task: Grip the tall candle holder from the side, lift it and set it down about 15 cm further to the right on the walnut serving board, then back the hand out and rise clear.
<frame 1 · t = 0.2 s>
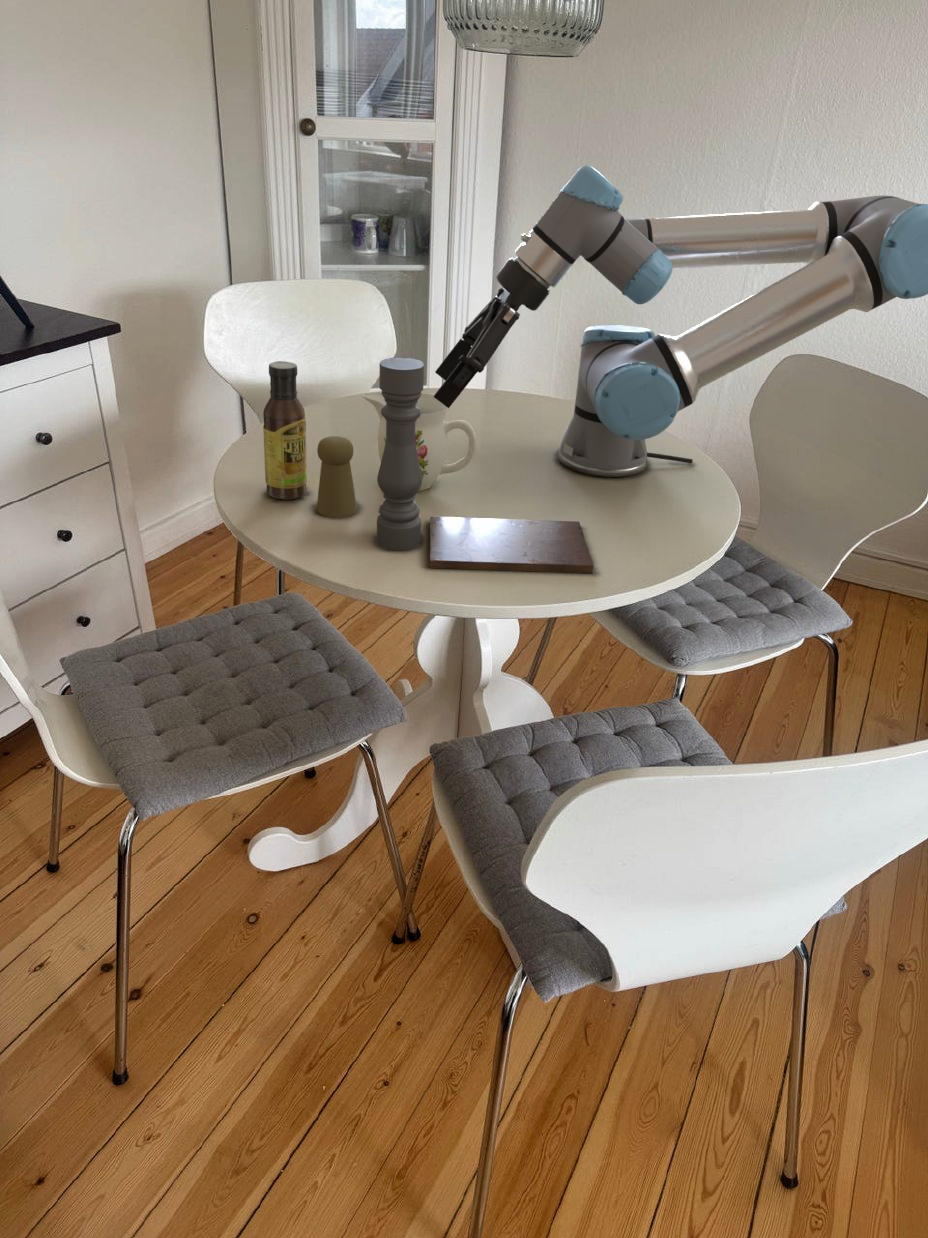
hand: (441, 389, 138), 16 cm above the table, tool tilted 35°, fingers open, 13 cm apart
walnut board: (507, 547, 129), on the table
candle holder: (398, 542, 129), on the table
olive pepper mill: (336, 510, 137), on the table
pitcher: (417, 484, 147), on the table
sauce bottle: (287, 494, 141), on the table
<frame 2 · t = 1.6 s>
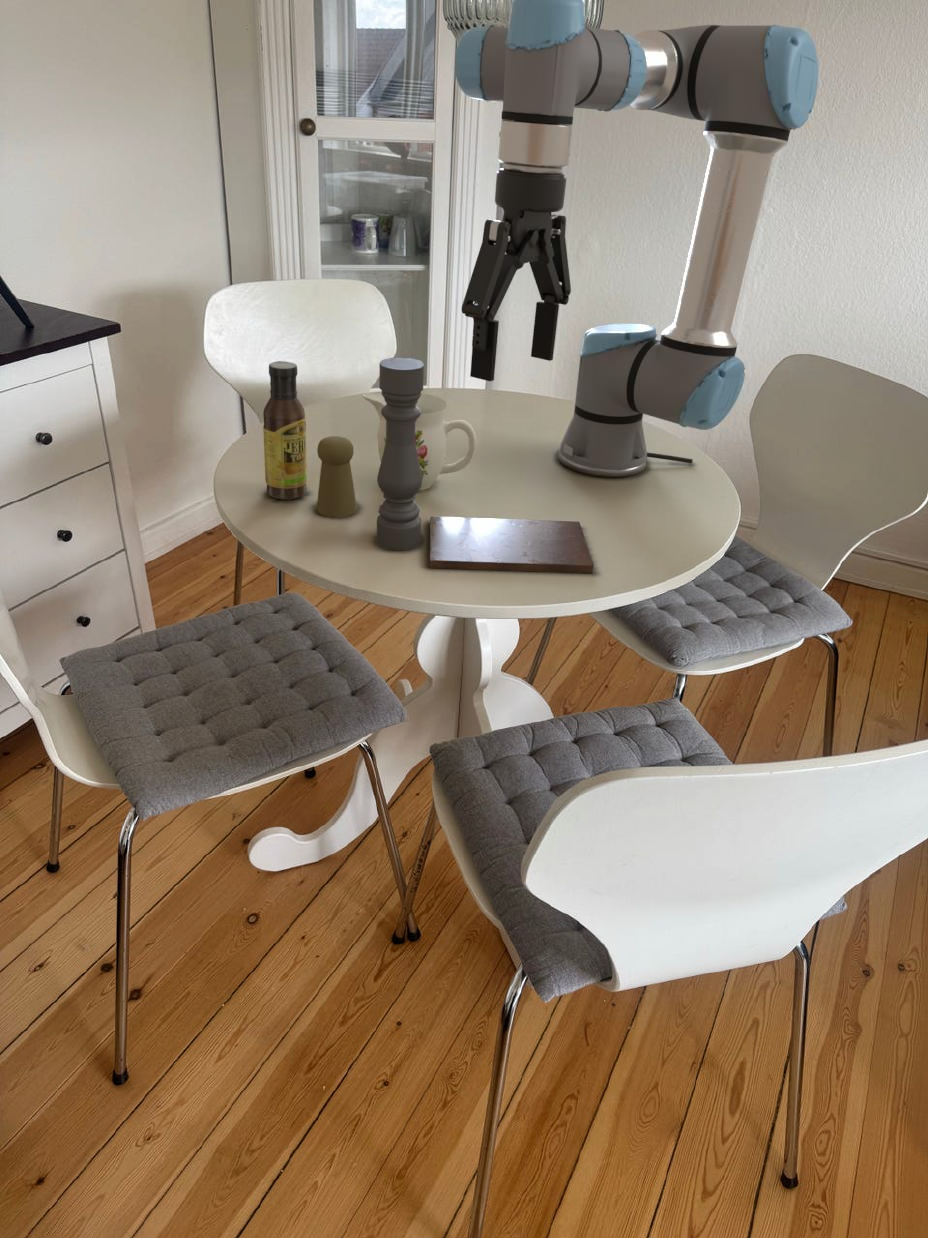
hand: (513, 368, 108), 27 cm above the table, tool pointing down, fingers open, 13 cm apart
nothing on the table moved.
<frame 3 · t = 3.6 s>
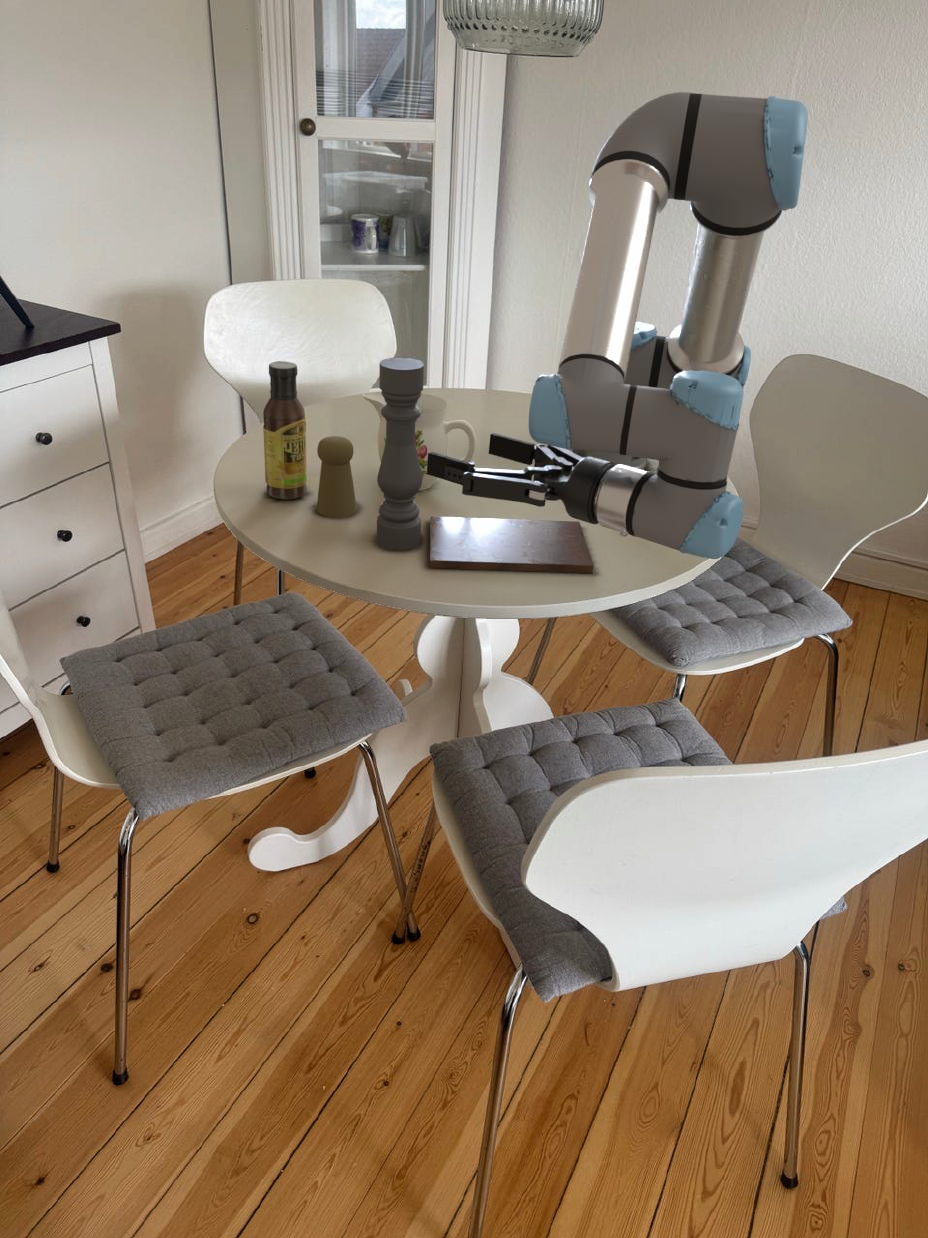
hand: (461, 452, 117), 15 cm above the table, tool horizontal, fingers open, 13 cm apart
nothing on the table moved.
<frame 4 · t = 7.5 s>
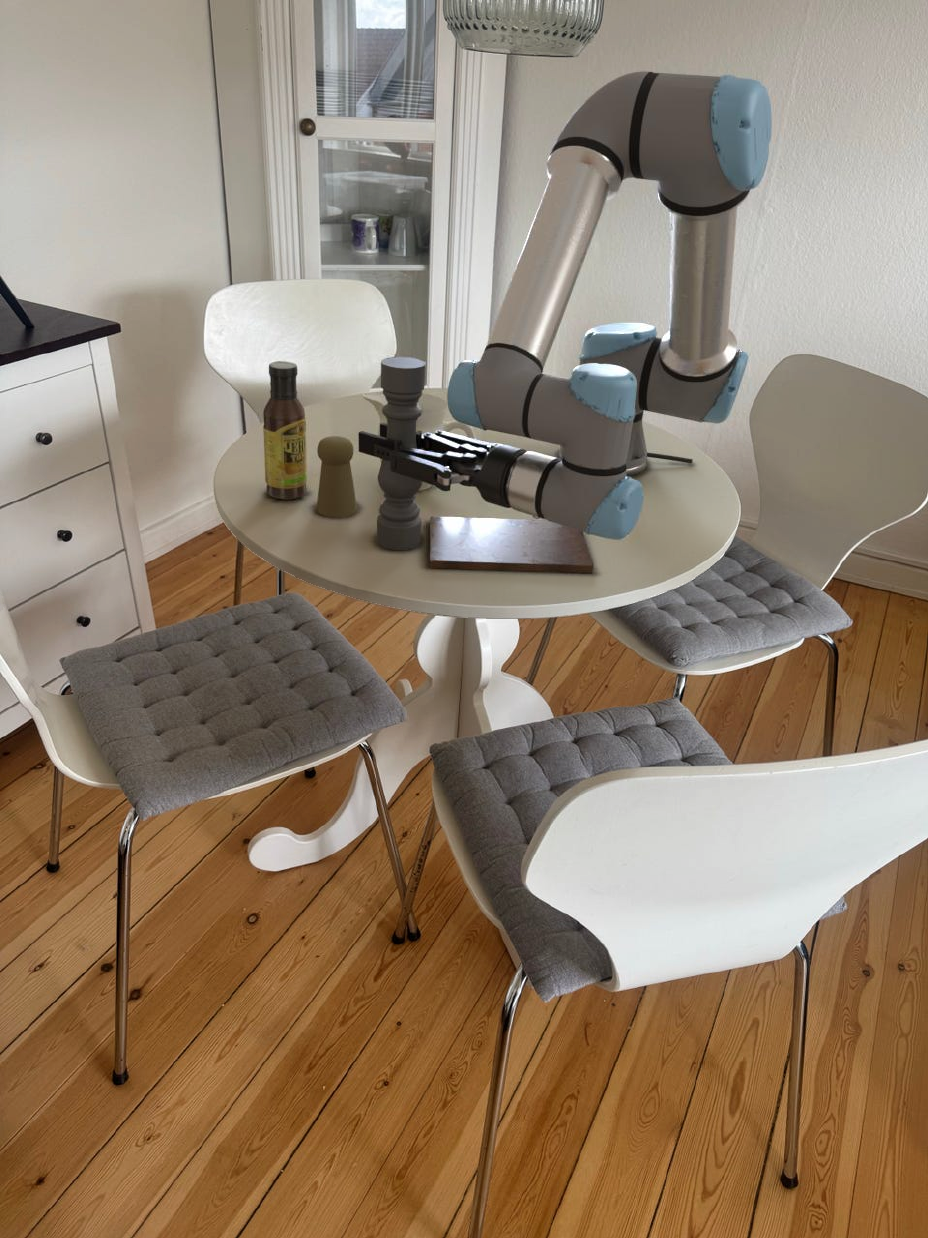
hand: (371, 436, 124), 14 cm above the table, tool horizontal, fingers closed on candle holder, 4 cm apart
candle holder: (398, 541, 129), on the table, touching gripper
everything else where it was.
when the fingers open (15 cm above the table, at t = 15.2 s): candle holder stays where it is, resting on walnut board.
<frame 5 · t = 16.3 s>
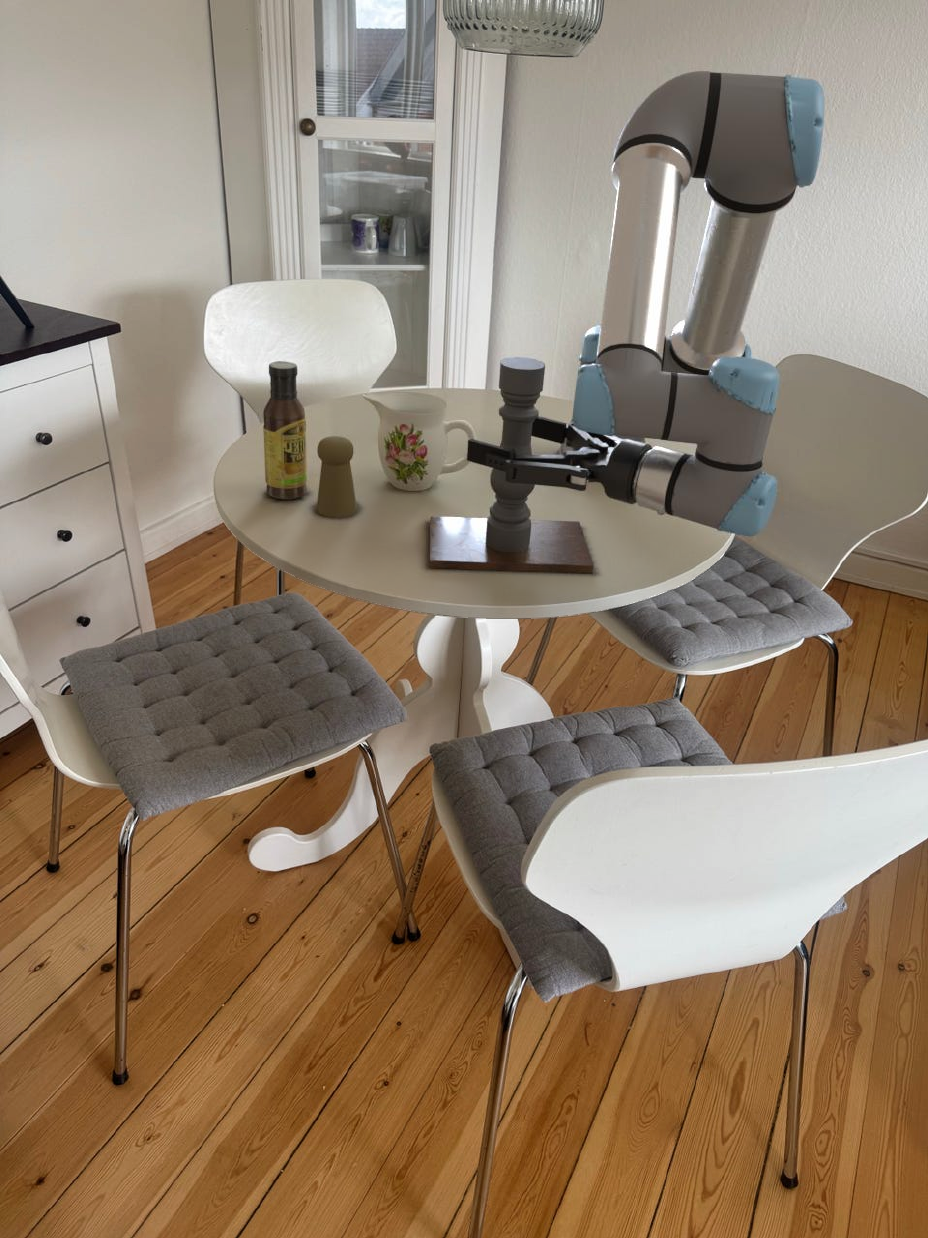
hand: (496, 435, 121), 16 cm above the table, tool horizontal, fingers open, 13 cm apart
candle holder: (507, 543, 127), point 1 cm above the table, touching walnut board
everything else where it was.
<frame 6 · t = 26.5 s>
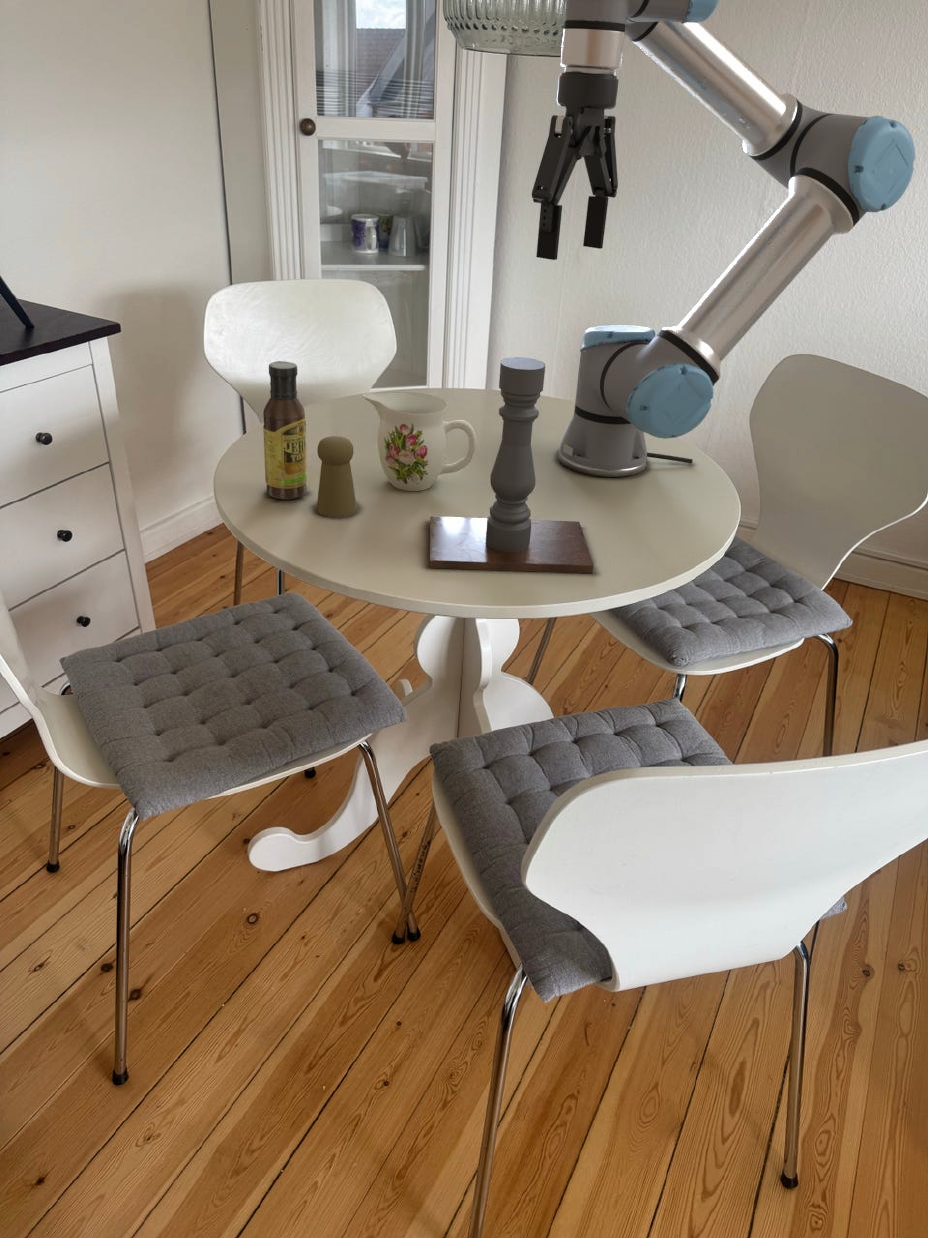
hand: (570, 252, 125), 37 cm above the table, tool pointing down, fingers open, 13 cm apart
nothing on the table moved.
at the end: candle holder inside the target area (0.2 cm from its centre), point 1.0 cm above the table; candle holder tilted 0°; the gripper is holding nothing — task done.
